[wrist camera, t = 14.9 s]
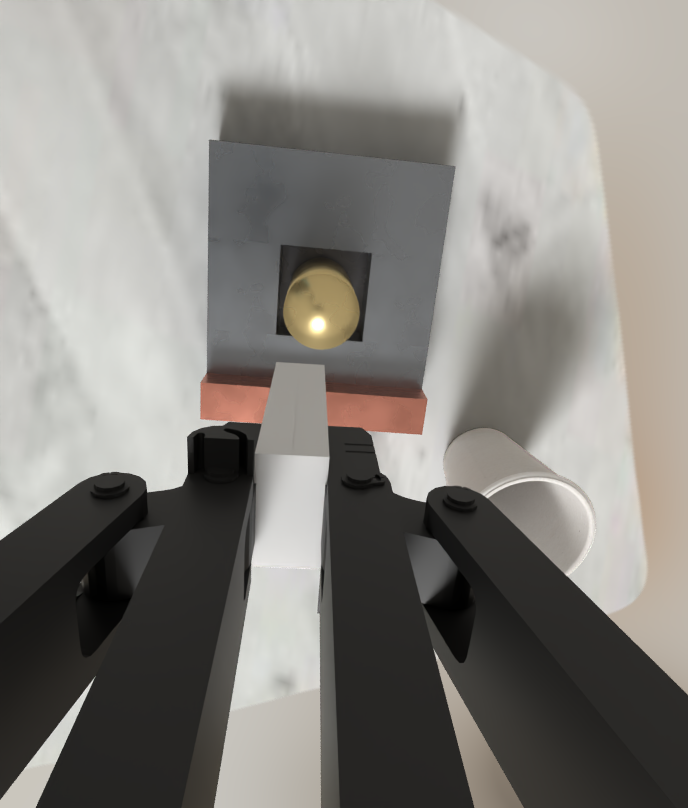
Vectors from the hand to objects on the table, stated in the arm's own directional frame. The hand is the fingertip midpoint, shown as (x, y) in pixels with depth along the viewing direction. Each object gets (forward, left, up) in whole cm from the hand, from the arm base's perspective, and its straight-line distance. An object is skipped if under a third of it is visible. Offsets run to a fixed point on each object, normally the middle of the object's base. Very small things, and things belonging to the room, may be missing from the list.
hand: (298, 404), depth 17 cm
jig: (-1, +1, -21) cm, 21 cm away
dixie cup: (+11, +14, -21) cm, 28 cm away
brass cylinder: (-1, +1, -20) cm, 20 cm away
